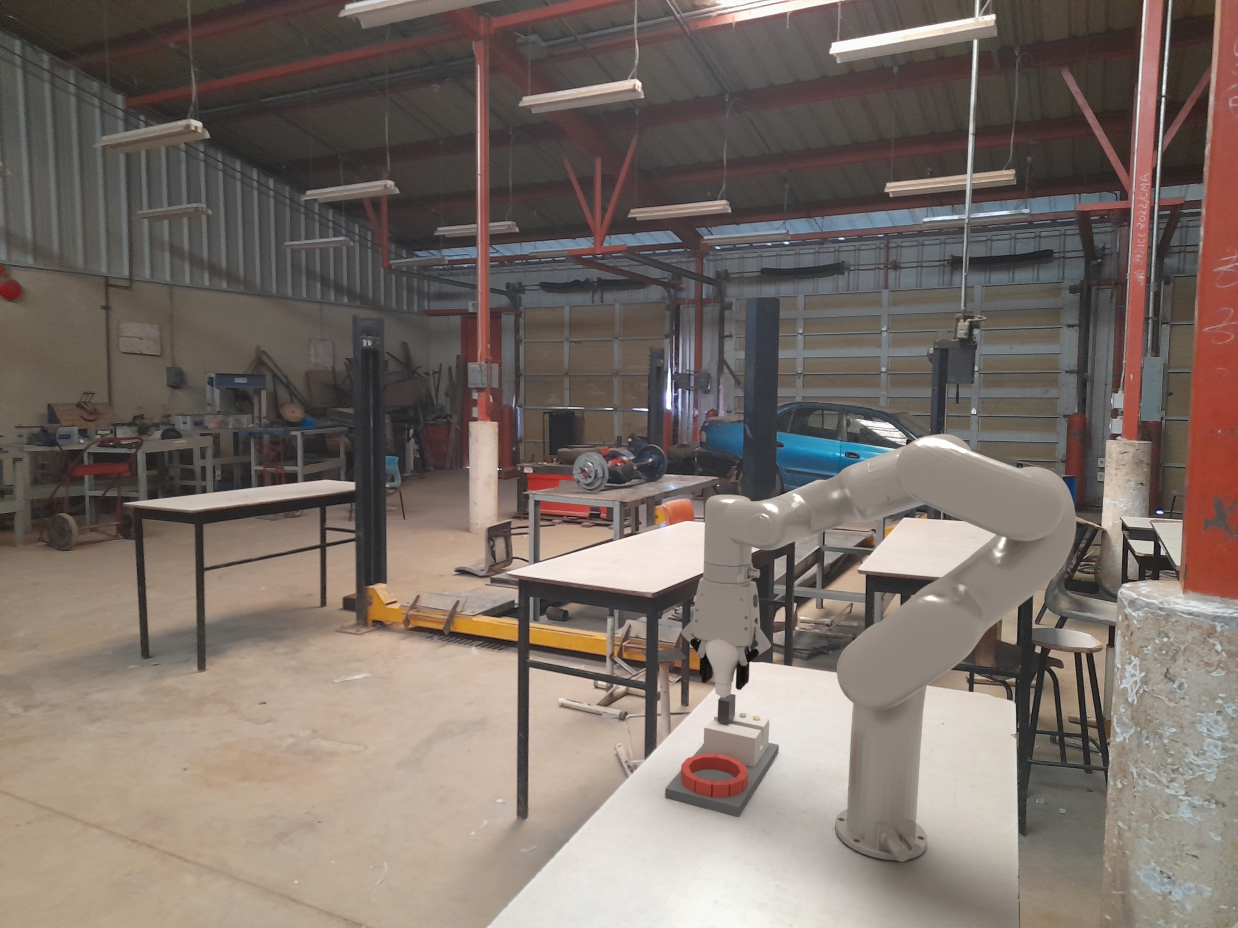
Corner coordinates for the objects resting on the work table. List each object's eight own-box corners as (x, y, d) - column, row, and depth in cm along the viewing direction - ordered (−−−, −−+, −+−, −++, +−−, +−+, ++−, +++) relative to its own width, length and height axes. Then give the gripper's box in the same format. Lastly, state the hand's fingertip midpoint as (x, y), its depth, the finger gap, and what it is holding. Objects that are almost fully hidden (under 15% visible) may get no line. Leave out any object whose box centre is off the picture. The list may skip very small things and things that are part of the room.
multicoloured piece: (738, 816, 118) (740, 772, 117) (665, 797, 123) (666, 755, 122) (778, 752, 139) (780, 715, 139) (714, 738, 145) (715, 702, 144)
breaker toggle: (727, 742, 135) (729, 701, 134) (716, 740, 136) (718, 699, 135) (734, 734, 138) (735, 694, 138) (723, 732, 139) (724, 692, 139)
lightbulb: (741, 691, 129) (743, 626, 128) (742, 705, 123) (744, 637, 122) (704, 688, 130) (706, 623, 129) (703, 702, 123) (705, 634, 123)
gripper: (786, 574, 124) (782, 686, 125) (686, 562, 132) (683, 667, 133) (772, 584, 117) (768, 701, 119) (668, 570, 125) (665, 681, 126)
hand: (723, 682), depth 126 cm, fingers closed on lightbulb, 5 cm apart
